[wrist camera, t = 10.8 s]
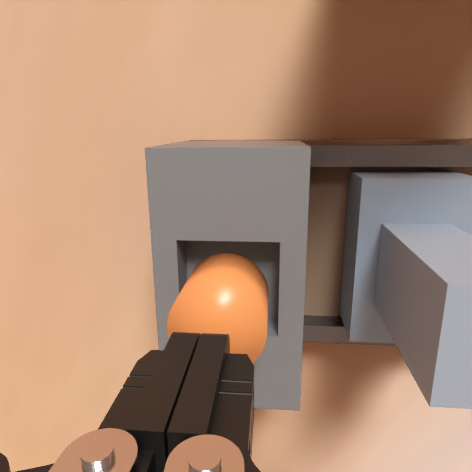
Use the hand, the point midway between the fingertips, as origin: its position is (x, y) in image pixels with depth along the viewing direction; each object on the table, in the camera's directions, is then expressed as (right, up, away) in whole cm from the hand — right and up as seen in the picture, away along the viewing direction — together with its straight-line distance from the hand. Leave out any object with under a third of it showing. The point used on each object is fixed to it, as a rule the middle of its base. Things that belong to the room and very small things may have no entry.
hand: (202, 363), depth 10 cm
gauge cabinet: (+1, +3, +11) cm, 12 cm away
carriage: (+9, +3, +10) cm, 14 cm away
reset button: (+1, +1, +5) cm, 5 cm away
